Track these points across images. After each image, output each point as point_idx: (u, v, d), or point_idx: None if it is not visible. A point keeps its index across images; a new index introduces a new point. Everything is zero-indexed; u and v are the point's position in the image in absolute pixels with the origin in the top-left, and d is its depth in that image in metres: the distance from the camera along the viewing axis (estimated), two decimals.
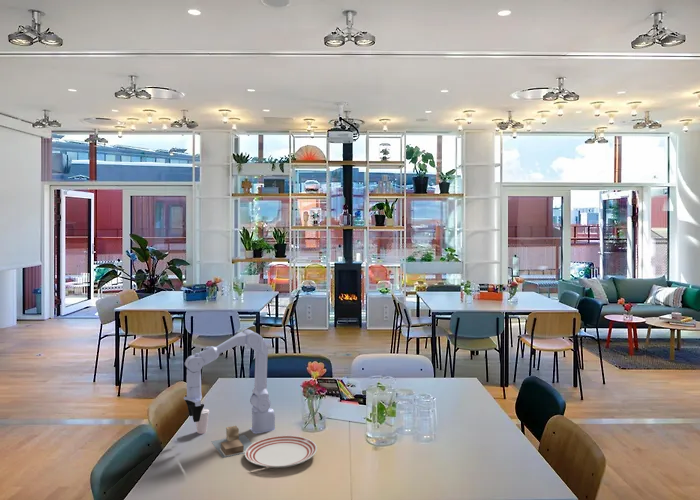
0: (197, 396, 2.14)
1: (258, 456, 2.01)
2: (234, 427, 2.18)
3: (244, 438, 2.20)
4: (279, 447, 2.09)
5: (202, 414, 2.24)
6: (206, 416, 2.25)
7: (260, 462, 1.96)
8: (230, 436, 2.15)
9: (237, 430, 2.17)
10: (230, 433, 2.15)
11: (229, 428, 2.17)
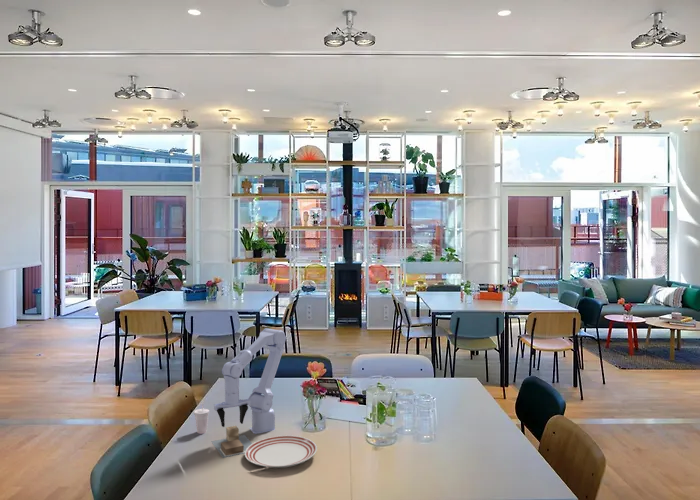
0: (225, 402, 2.15)
1: (258, 456, 2.01)
2: (234, 427, 2.18)
3: (244, 438, 2.20)
4: (279, 447, 2.09)
5: (202, 414, 2.24)
6: (206, 416, 2.25)
7: (260, 462, 1.96)
8: (230, 436, 2.15)
9: (237, 430, 2.17)
10: (230, 433, 2.15)
11: (229, 428, 2.17)
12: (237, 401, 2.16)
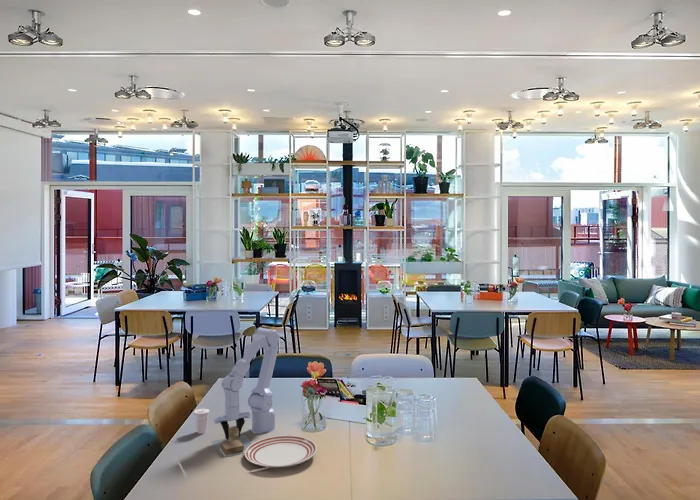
0: (226, 415, 2.16)
1: (258, 456, 2.01)
2: (234, 427, 2.18)
3: (244, 438, 2.20)
4: (279, 447, 2.09)
5: (202, 414, 2.24)
6: (206, 416, 2.25)
7: (260, 462, 1.96)
8: (230, 436, 2.15)
9: (237, 430, 2.17)
10: (230, 433, 2.15)
11: (229, 428, 2.17)
12: (237, 414, 2.16)
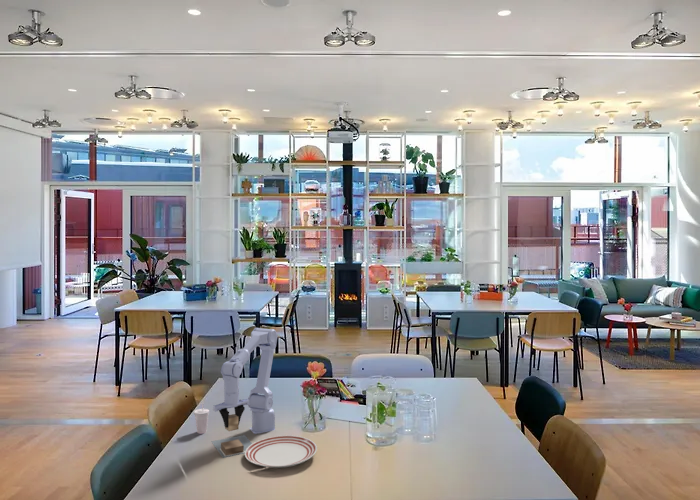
0: (225, 402, 2.09)
1: (258, 456, 2.01)
2: (233, 416, 2.12)
3: (244, 438, 2.20)
4: (279, 447, 2.09)
5: (202, 414, 2.24)
6: (206, 416, 2.25)
7: (260, 462, 1.96)
8: (230, 424, 2.09)
9: (237, 418, 2.10)
10: (230, 422, 2.09)
11: None
12: (237, 401, 2.10)
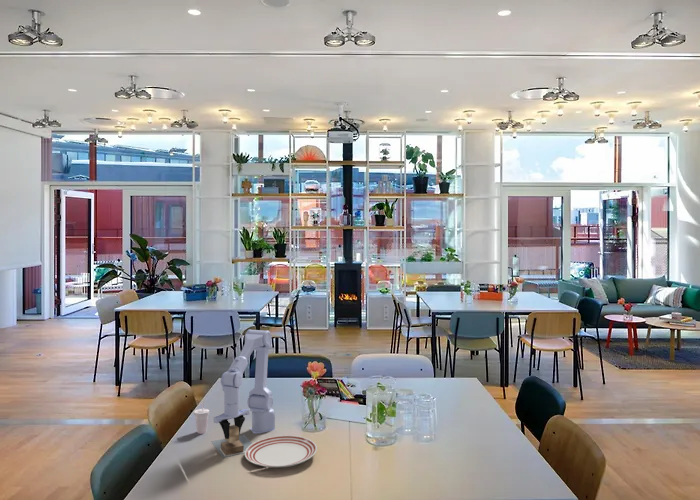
0: (226, 414, 2.05)
1: (258, 456, 2.01)
2: (233, 426, 2.08)
3: (244, 438, 2.20)
4: (279, 447, 2.09)
5: (202, 414, 2.24)
6: (206, 416, 2.25)
7: (260, 462, 1.96)
8: (231, 436, 2.05)
9: (237, 429, 2.07)
10: (230, 433, 2.05)
11: None
12: (238, 412, 2.06)
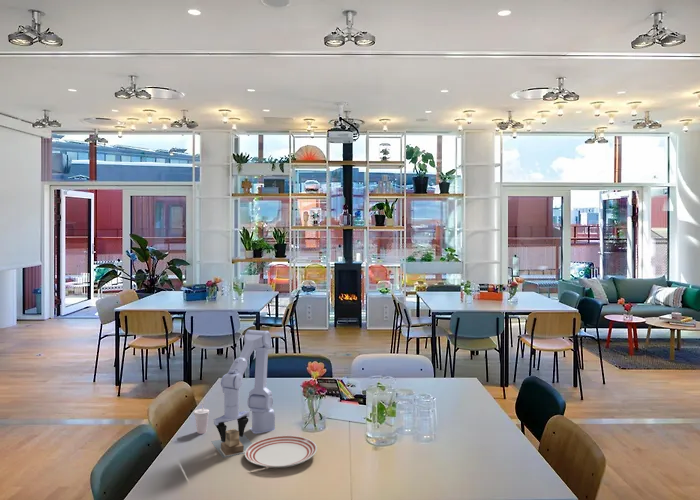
0: (226, 415, 2.05)
1: (258, 456, 2.01)
2: (233, 431, 2.08)
3: (244, 438, 2.20)
4: (279, 447, 2.09)
5: (202, 414, 2.24)
6: (206, 416, 2.25)
7: (260, 462, 1.96)
8: (231, 440, 2.05)
9: (237, 433, 2.07)
10: (231, 437, 2.05)
11: (228, 432, 2.07)
12: (238, 414, 2.06)
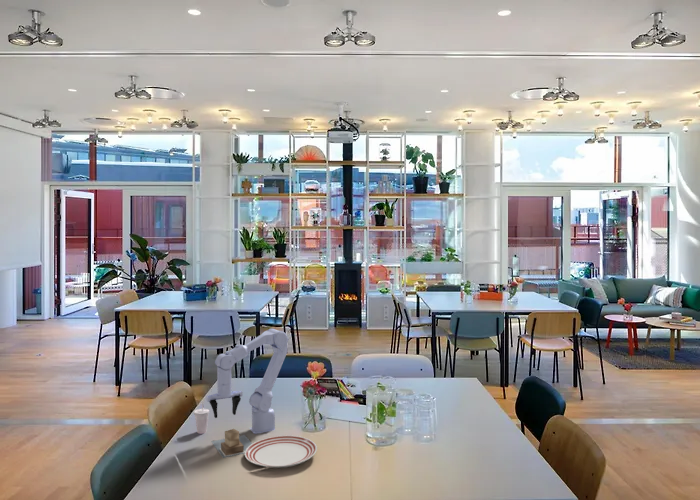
0: (218, 393, 2.18)
1: (258, 456, 2.01)
2: (233, 431, 2.08)
3: (244, 438, 2.20)
4: (279, 447, 2.09)
5: (202, 414, 2.24)
6: (206, 416, 2.25)
7: (260, 462, 1.96)
8: (231, 440, 2.05)
9: (237, 433, 2.07)
10: (231, 437, 2.05)
11: (228, 432, 2.07)
12: (229, 392, 2.18)
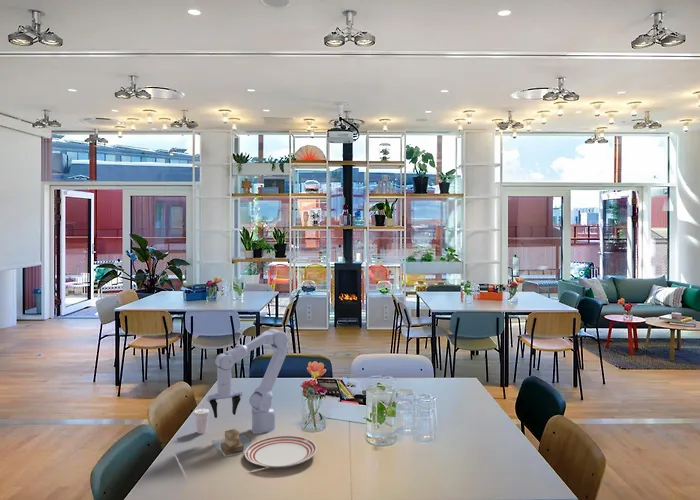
0: (218, 393, 2.18)
1: (258, 456, 2.01)
2: (233, 431, 2.08)
3: (244, 438, 2.20)
4: (279, 447, 2.09)
5: (202, 414, 2.24)
6: (206, 416, 2.25)
7: (260, 462, 1.96)
8: (231, 440, 2.05)
9: (237, 433, 2.07)
10: (231, 437, 2.05)
11: (228, 432, 2.07)
12: (229, 392, 2.18)
